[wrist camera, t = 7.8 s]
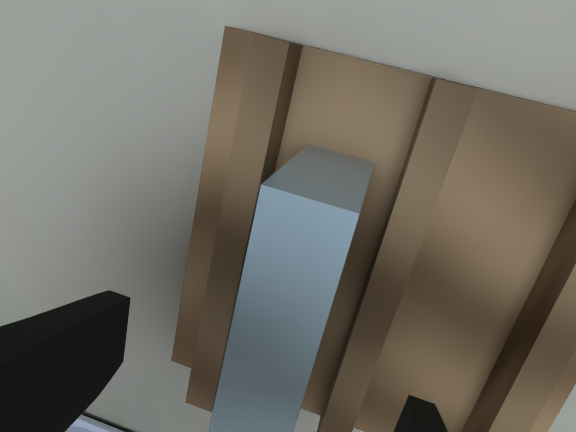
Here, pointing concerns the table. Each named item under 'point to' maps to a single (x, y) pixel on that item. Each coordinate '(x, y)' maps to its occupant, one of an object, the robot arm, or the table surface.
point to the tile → (288, 288)
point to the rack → (399, 238)
